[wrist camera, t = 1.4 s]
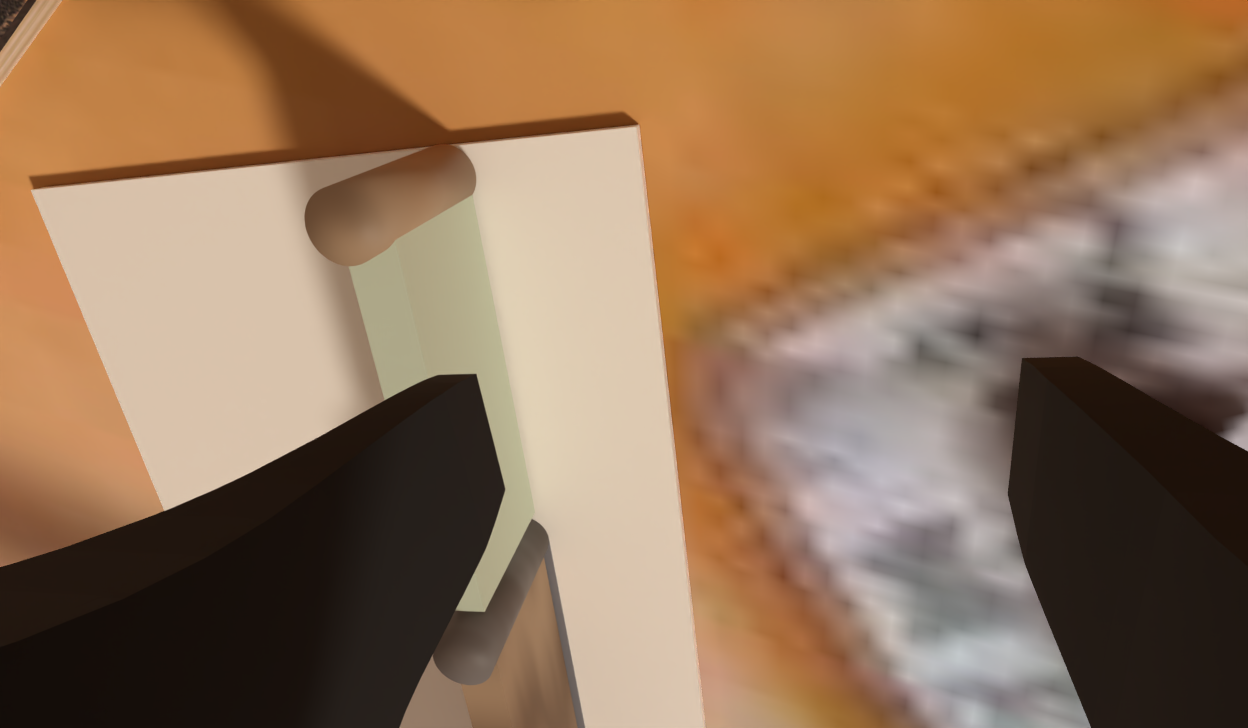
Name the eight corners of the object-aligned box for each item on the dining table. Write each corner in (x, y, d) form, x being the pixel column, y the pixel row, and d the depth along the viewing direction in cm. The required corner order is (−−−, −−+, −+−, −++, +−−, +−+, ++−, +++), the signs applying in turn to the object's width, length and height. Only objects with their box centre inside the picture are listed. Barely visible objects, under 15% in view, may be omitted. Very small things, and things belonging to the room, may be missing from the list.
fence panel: (541, 511, 24) (480, 634, 19) (491, 511, 24) (420, 631, 19) (469, 141, 19) (369, 182, 15) (410, 146, 20) (294, 189, 15)
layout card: (709, 766, 28) (709, 778, 27) (265, 731, 32) (258, 741, 31) (639, 124, 19) (635, 126, 19) (42, 187, 23) (28, 190, 23)
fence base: (593, 772, 28) (555, 923, 24) (551, 769, 29) (505, 916, 24) (544, 516, 24) (485, 638, 19) (496, 516, 24) (426, 635, 20)
